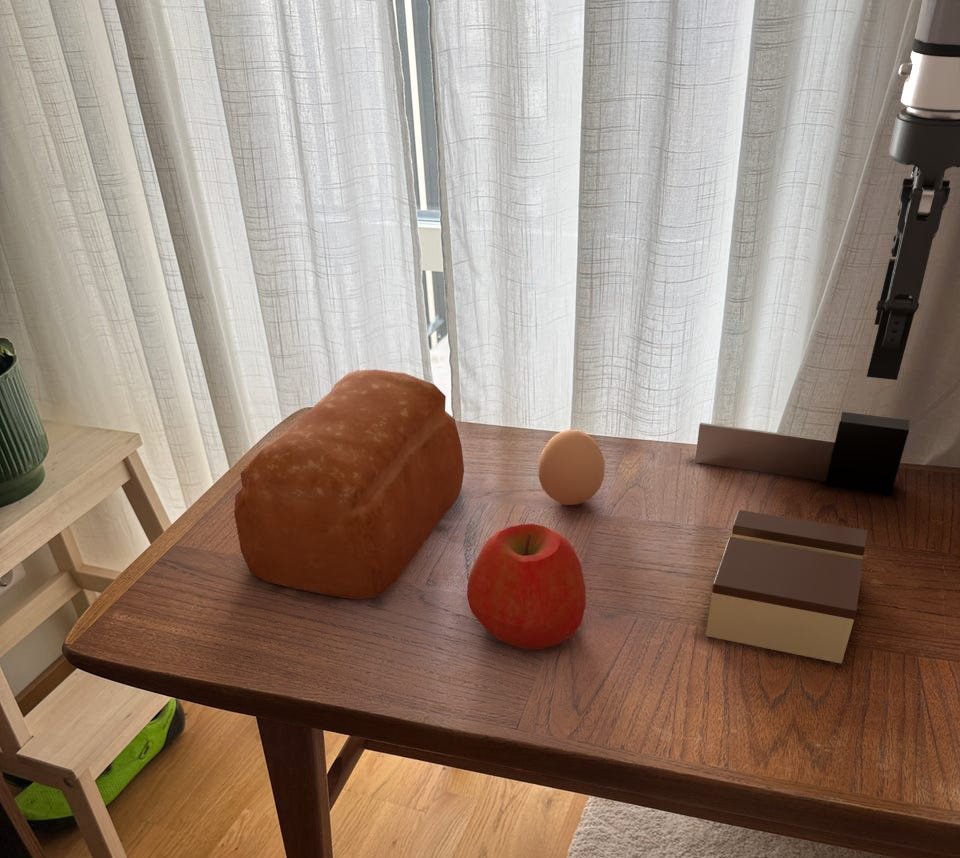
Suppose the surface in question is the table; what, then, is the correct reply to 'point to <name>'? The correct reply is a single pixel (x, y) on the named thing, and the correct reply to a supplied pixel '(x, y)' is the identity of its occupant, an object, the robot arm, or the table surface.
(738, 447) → the knife
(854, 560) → the cake
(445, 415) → the bread
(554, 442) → the egg
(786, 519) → the cake slice
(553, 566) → the apple
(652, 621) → the table surface
